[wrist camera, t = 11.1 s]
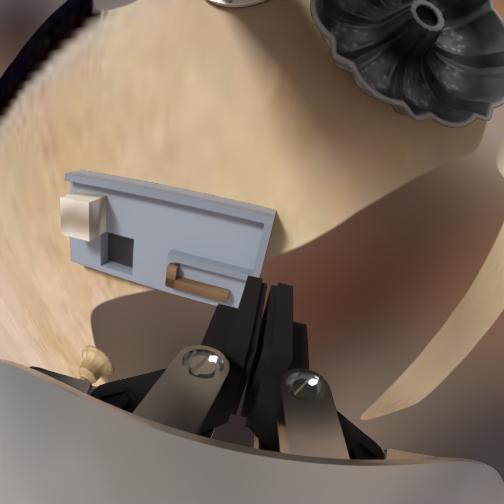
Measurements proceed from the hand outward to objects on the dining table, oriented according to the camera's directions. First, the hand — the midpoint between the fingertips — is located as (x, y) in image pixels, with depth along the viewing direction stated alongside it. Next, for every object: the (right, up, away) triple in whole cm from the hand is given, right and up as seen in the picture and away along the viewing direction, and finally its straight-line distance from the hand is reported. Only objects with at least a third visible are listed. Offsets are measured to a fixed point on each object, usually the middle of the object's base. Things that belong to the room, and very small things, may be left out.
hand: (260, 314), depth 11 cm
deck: (-14, +5, +31) cm, 35 cm away
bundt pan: (+19, +31, +17) cm, 40 cm away
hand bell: (-34, -21, +44) cm, 60 cm away
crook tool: (-8, -2, +31) cm, 32 cm away
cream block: (-24, +8, +29) cm, 38 cm away
